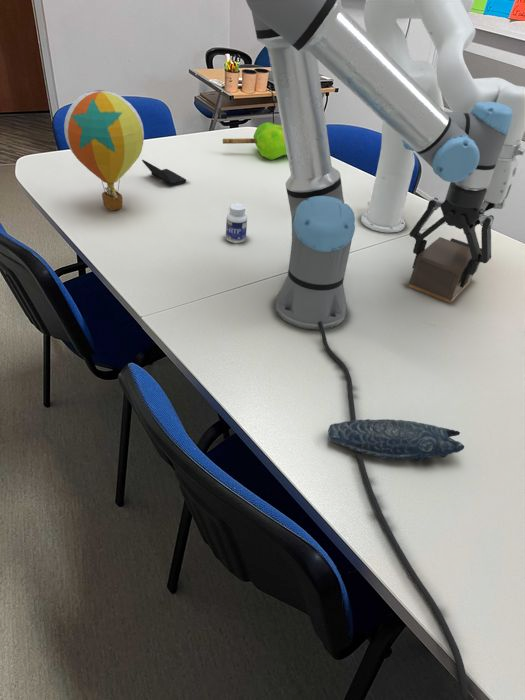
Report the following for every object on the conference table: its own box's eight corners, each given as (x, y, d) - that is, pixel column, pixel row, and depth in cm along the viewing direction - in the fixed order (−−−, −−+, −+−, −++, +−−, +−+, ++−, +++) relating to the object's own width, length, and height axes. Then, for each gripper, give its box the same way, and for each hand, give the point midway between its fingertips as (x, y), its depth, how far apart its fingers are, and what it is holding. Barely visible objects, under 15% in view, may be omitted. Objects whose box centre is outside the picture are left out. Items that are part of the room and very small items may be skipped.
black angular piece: (190, 175, 164) (173, 153, 156) (179, 193, 163) (161, 172, 155) (166, 170, 170) (147, 148, 162) (155, 188, 169) (136, 167, 161)
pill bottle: (222, 240, 135) (223, 208, 129) (230, 232, 139) (231, 200, 133) (241, 244, 134) (243, 212, 128) (248, 236, 138) (250, 204, 132)
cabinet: (430, 266, 133) (439, 236, 127) (470, 281, 128) (481, 251, 123) (408, 286, 124) (417, 255, 119) (450, 303, 119) (461, 271, 114)
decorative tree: (219, 118, 187) (300, 118, 192) (219, 148, 194) (297, 147, 199) (226, 133, 174) (312, 132, 179) (226, 164, 180) (309, 163, 185)
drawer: (445, 253, 137) (452, 231, 133) (480, 266, 133) (488, 243, 129) (417, 278, 125) (424, 255, 121) (453, 293, 121) (462, 269, 117)
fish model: (462, 473, 80) (472, 452, 77) (326, 456, 81) (331, 434, 78) (454, 441, 86) (463, 420, 82) (327, 425, 86) (331, 403, 83)
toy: (64, 203, 145) (44, 85, 127) (127, 189, 156) (117, 79, 137) (97, 229, 134) (80, 105, 116) (162, 213, 145) (156, 96, 126)
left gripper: (531, 196, 105) (493, 288, 119) (424, 164, 116) (400, 252, 129) (520, 206, 100) (482, 301, 114) (410, 172, 111) (387, 263, 124)
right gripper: (538, 153, 114) (507, 230, 125) (472, 137, 121) (448, 211, 132) (528, 161, 109) (497, 240, 121) (460, 143, 116) (437, 220, 127)
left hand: (439, 275), depth 122 cm, fingers open, 11 cm apart
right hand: (472, 225), depth 126 cm, fingers closed
